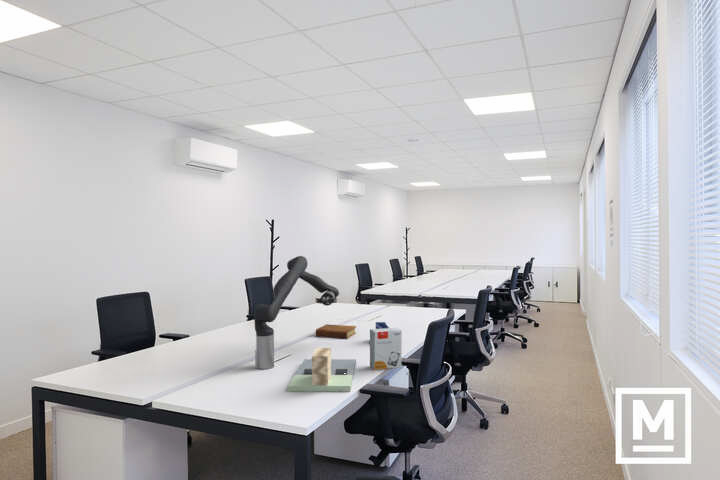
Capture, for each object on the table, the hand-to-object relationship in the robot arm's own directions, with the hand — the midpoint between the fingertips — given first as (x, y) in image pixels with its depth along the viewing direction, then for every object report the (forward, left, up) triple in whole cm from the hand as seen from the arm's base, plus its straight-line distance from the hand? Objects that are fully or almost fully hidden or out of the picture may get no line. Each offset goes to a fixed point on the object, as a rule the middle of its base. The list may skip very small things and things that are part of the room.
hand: (324, 302), depth 258 cm
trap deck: (+4, -31, -32) cm, 45 cm away
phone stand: (+34, +42, -32) cm, 63 cm away
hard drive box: (+34, -15, -32) cm, 49 cm away
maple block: (+4, -44, -29) cm, 53 cm away
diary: (0, +63, -33) cm, 71 cm away
